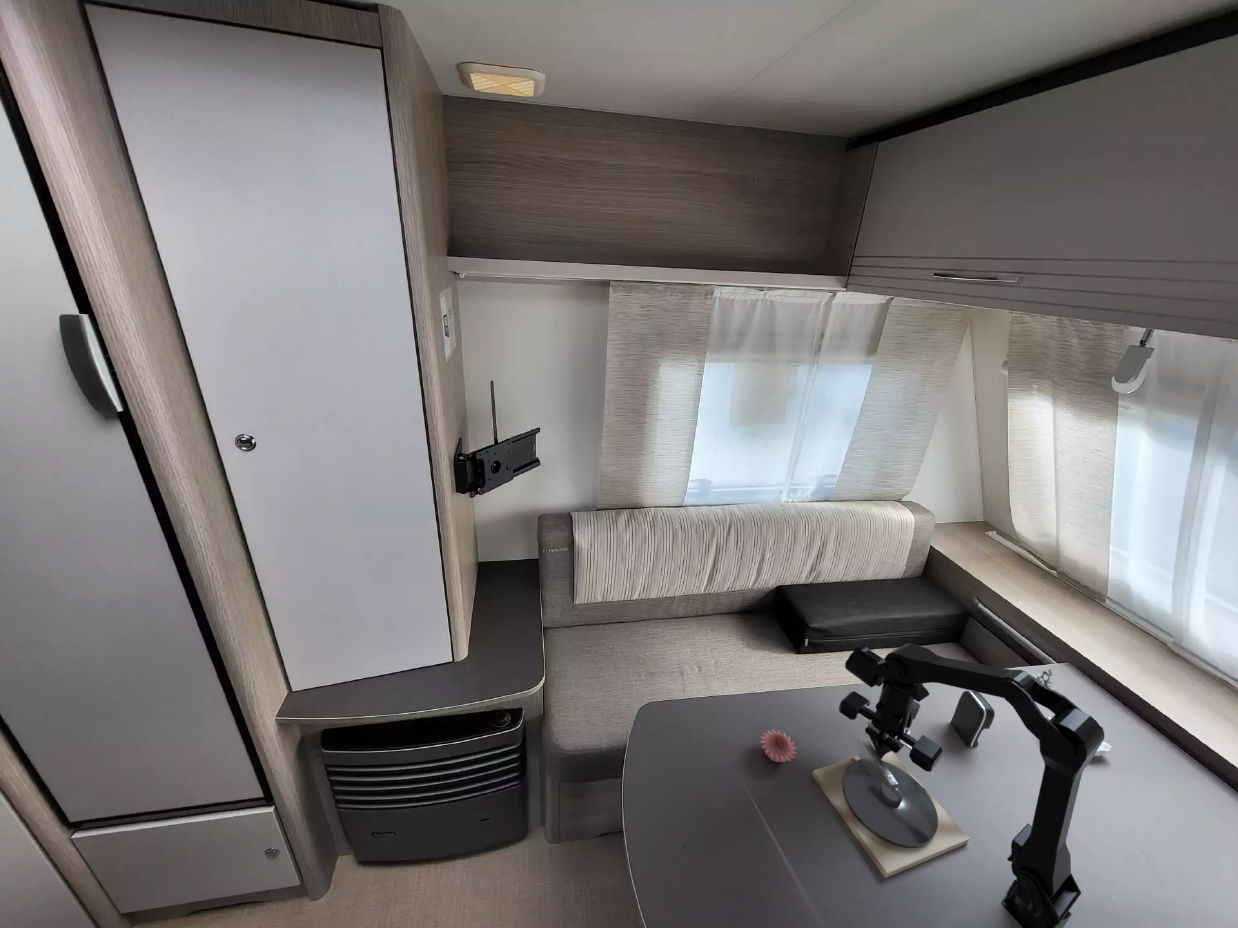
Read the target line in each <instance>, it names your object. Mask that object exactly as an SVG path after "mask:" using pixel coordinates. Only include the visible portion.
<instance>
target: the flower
mask: <svg viewBox="0 0 1238 928" xmlns="http://www.w3.org/2000/svg"><path fill="white" fill-rule="evenodd" d="M771 731H772V732H771ZM771 731H770V730H768V729H766V732H767V733H764V732H762V735H764V736H760V737H759V738H760V739H762V740H761V741H760V742H759V743H760V744H763V745H762V746H761V749H763V751H764V753H765V755H766V756H767V757H768V759H770V760H771V761H773V762H776V763H780V762H781V763H786V761H788V762H792V759H796V757H795V755H797V754H798V752H796V751H795V750H796V749H797V748H798V747H797V746H794V745H795V741H791V736H787V735H786V732H783V734H782V733H781V732H780V730H779V729H778V730H777V731H775V730H774V729H773V728H771Z"/></svg>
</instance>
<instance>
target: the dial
mask: <svg viewBox="0 0 1238 928" xmlns="http://www.w3.org/2000/svg"><path fill="white" fill-rule="evenodd" d="M854 752H855V754H856V755H857V756H859V758H860V760H857V761H855V762H853V763H851V764H850V765H849V766H848V768H847V769H846V771H845V773H844V776H843V781H842V788H843V794H844V797H845V800H846V802H847V804H848V806H849V808H850V810H851V811H852V813H853V814H854V815H855V817H856V818H857V819H858V820H859V821H860V822H861V823H862V824H863V825H864V826H865V827H866V828H867V829H868V830H869V831H871V832H872V833H873V834H875V835H876V836H878V837H879V838H881V839H883V840H884V841H886V842H889V843H891V844H893V845H897V846H900V847H905V848H918V847H922V846H924V845H927V844H928V843H929V842H930V841H931V840H932V839H933V837H934V835H935V833H936V831H937V827H938V815H937V812H936V808H935V806H934V804H933V802H932V800H931V798H930V797H929V795H928V794H927V792H926V791H925V790H924V788H925V787H924V786H923V785H922V784H921V783H920V782H919V783H920V784H921V785H922V786H923V787H924V788H923V787H922V786H921V785H920V784H919V783H918V782H917V781H916V780H915V779H914V778H913V777H911V776H910V775H909V774H907V773H906V772H905V771H903V770H902V769H900V768H898V767H896V766H894V765H892V764H890V763H887V762H885V761H882V759H881V758H880V756H879V755H878V754H877V752H876V750H875V748H874V745H873V744H872V742H870V741H869V739H868V738H867V737H866V736H861V737H859V738H858V740H857V743H856V746H855V749H854Z"/></svg>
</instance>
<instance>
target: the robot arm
mask: <svg viewBox="0 0 1238 928" xmlns="http://www.w3.org/2000/svg"><path fill="white" fill-rule="evenodd" d="M844 663H845V664H844V668H845V670H846V671H848V673H851V674H852V675H853V676H855V678H857V679H859V680H860V681H862V683H864V684H866V685H867V686H868V687H870V688H873V687H875V686H876V687H882V688H881V690H880V691H881V692H880V694H879V699H878V702H877V703H876V704H875V708H874V709H876V710H874V709H872V708H871V707H870V705H871V700H870V699H868V698H866V697H864V696H863V695H862V694H860V693H858V692H857V691H855V690H853V691H850V692H849V693H848V694H846V696H844V698H843V699H841V700H840V703H839V706H838V712H839V713H840V714H842V715H843V716H845V717H846V718H847V719H849V720H850V721H853V720H856V719H857V717H858V715H859V714H860V715H861V716H862V717H864V718H866V719H867V720H868V721H867V726H866V727H865V729H864V732H865V734H867V735H868V737H869V739H870V741H871V744H872V746H873V748H874V749H875V751H876V752H877V754H878V755H879V756H880V758H881V759H882V758H883V756H884V755H885V754H886V753H888V752H891V751H892V753H893V754H898V753H899V752H900V751H901V750H902V749H903V748H904V747H905V748H907V749H908V750H910V752H909V755H908V757H909V759H910V760H911V762H912V763H913V764H915V765H916V766H917V767H919V768H921V770H924V771H925V772H928V773H929V772H932V770H933V769H934V768H935V766H936V765H937V764H938V763H939V761H940V759H941V758H942V756H943V753H944V749H943V748H942V746H941V744H938V743H937V742H935V741H934V740H933V739H930V738H929V737H928V736H926V735H925V734H922V735H921V736H920V737H919V739H918V740H917V739H916V738H914V737H912V736H911V735H910V734H911V730H909V729H910V728H911V727H912V724H913V720H916V718H917V715H918V712H919V710H920V708H921V704H919V703H920V702H921V701H923V700H924V699H926V698H927V697H929V696H930V692H929V691H928V689H927V688H926V687H925V686H924V684H931V683H933V684H934V683H935V684H937V683H938V684H940V685H941V684H942V685H945V686H949V687H954V688H959V689H963V690H965V691H975V692H979V693H980V694H984V695H990V696H994V697H997V698H1001V699H1004V700H1005V701H1006V702H1007V703H1008V704H1010V705H1011V706H1012V708H1013V709H1014V711H1015V712H1016V714H1017V715H1018V717H1019V719H1020V721H1021V722H1022V724H1023V725H1024V727H1025V728H1026V730H1028V731H1029V732H1030V733H1031V734H1032V735H1033V736H1034V737H1036V739H1037V740H1038V743H1039V754H1040V756H1041V758H1042V761H1043V762H1044V769H1043V773H1042V778H1041V782H1040V787H1039V791H1038V796H1037V799H1036V805H1035V809H1034V814H1033V819H1032V823H1031V824H1030V823H1026V825H1025V826H1024V827H1023V828H1022V829H1021V830H1020V831H1019V832H1018V833H1017V835H1015V837H1013V839H1012V840H1011V844H1010V849H1011V853H1010V855H1009V856H1008V857H1007V858H1006V859H1007V861H1008V862H1011V864H1010V866H1011V867H1010V870H1011V872H1012V874H1013V876H1015V878H1016V879H1014V880H1013V881H1012V883H1011V884H1010V886H1009V888H1008V889H1007V891H1006V893H1005V894H1006V896H1007V897H1006V898H1004V899H1002V900H1001V905H1002V906H1003V908H1005V910H1006V911H1007V913H1009V914H1010V915H1011V916H1012V918H1013V919H1014V920H1015V921H1016V922H1017V923H1018V925H1019V926H1020V927H1021V928H1064V927H1065V926H1066V924H1067V922H1068V921H1069V919H1071V916H1072V912H1070V910H1071V909H1072V907H1073V906H1074V904H1075V903H1076V901H1078V899H1079V898H1080V896H1081V895H1082V891H1081V889H1080V888H1079V885H1078V883H1077V881H1076V880H1075V878H1074V875H1073V874H1072V866H1071V859H1072V858H1071V853H1070V851H1069V850H1070V849H1068V846H1067V838H1068V834H1069V829H1070V825H1071V821H1072V817H1073V814H1074V813H1073V812H1074V808H1075V805H1076V800H1077V796H1078V793H1079V788H1080V785H1081V784H1080V783H1081V781H1082V776H1083V775H1082V774H1083V772H1084V771H1085V769H1086V768H1087V766H1088V765H1089V764H1090V762H1091V761H1092V759H1093V758H1094V757H1095V756H1094V755H1095V753H1096V752H1097V750H1098V748H1099V747H1100V745H1101V743H1102V742H1103V741H1104V740H1105V730H1104V728H1103V727H1102V726H1101V725H1100V724H1099V722H1098V721H1097V720H1096V719H1095V718H1094V717H1092V716H1091V715H1090V714H1088V713H1087V712H1085V711H1083V710H1082V709H1080V707H1078V706H1077V705H1076V704H1075V703H1074V702H1072V701H1071V700H1070V699H1069V698H1068V697H1066V696H1065V695H1063V694H1061V692H1058V691H1057V692H1056V691H1054V690H1052V689H1050V688H1048V687H1046V686H1044V685H1042V684H1041V683H1040V682H1039V681H1037V680H1036V679H1035V678H1034V677H1033V676H1034V675H1032V674H1030V673H1028V672H1027V671H1025V670H1023V669H1010V668H1003V667H997V666H993V665H987V664H983V663H976V662H972V661H965V660H961V659H955V658H949V657H944V656H941V655H938V654H936V653H935V652H934V651H932V649H930V648H927V647H925V646H924V647H923V646H921V645H918V644H915V643H905V644H903V645H902V646H900V647H898V648H896V649H894V650H892V651H891V652H889V653H887V655H885V657H884V658H883V657H881V656H880V655H878V654H877V653H876V652H874V651H872V650H871V649H870V648H868V647H867V646H866V645H864V644H863V643H860V644H858V645H856V646H854V650H853V651H852V652H851V654H850V655H849V656H848V658H847V659H846V661H845V662H844ZM1038 705H1041V706H1042V707H1044V708H1046V709H1048V710H1049V711H1050V712H1051V713H1053V714H1054V715H1053V716H1052V717H1050V718H1051V719H1050V720H1048V719H1047V718H1045V717H1046V716H1045V715H1044V714H1043V713H1042V711H1041V709H1040V708H1039V707H1038ZM1004 903H1005V904H1006V905H1005V904H1004Z"/></svg>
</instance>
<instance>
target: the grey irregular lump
mask: <svg viewBox="0 0 1238 928" xmlns="http://www.w3.org/2000/svg"><path fill="white" fill-rule="evenodd" d="M1045 675H1046V676H1048V677H1045ZM1032 676H1033V677H1034V678H1035V679H1036V680H1037V681H1039V682H1040V683H1041V684H1042V685H1044V686H1046V687H1048V688H1050V689H1052V690H1054V691H1056V692H1058V691H1057V689H1056V686H1055V683H1054V682H1052V681H1051V680H1050V679H1051V677H1053V676H1054V675H1053V671H1052V668H1049V669H1047V670H1043V671H1042V674H1041V673H1038V674H1034V675H1032Z"/></svg>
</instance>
